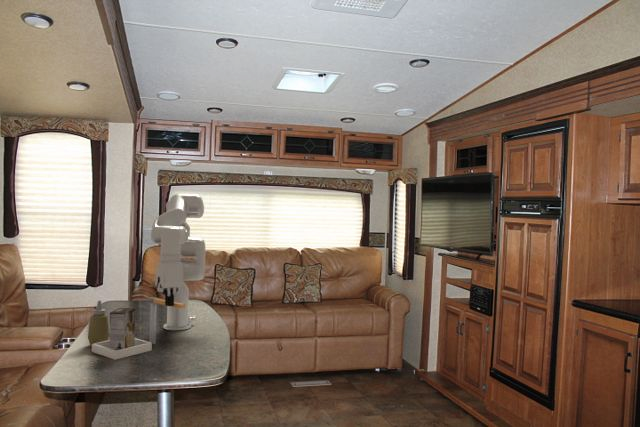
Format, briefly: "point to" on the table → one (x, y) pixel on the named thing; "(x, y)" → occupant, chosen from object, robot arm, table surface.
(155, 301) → the bar
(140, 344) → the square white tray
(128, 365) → the table surface
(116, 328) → the coffee box
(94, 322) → the squeeze bottle
